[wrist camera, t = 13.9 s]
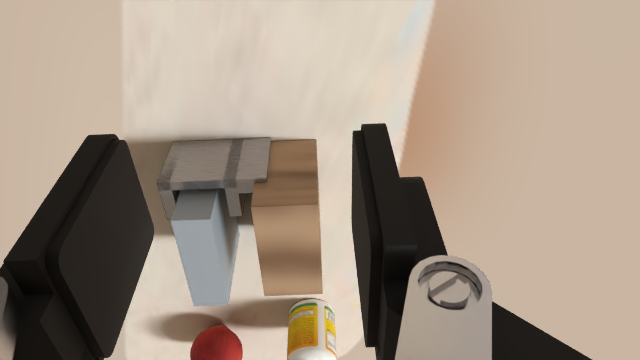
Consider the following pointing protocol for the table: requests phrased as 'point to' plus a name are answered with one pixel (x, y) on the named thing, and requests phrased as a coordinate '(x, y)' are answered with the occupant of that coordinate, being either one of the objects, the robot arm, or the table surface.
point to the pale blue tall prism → (206, 244)
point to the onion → (216, 345)
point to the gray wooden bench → (214, 169)
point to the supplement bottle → (311, 331)
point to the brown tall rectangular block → (289, 220)
